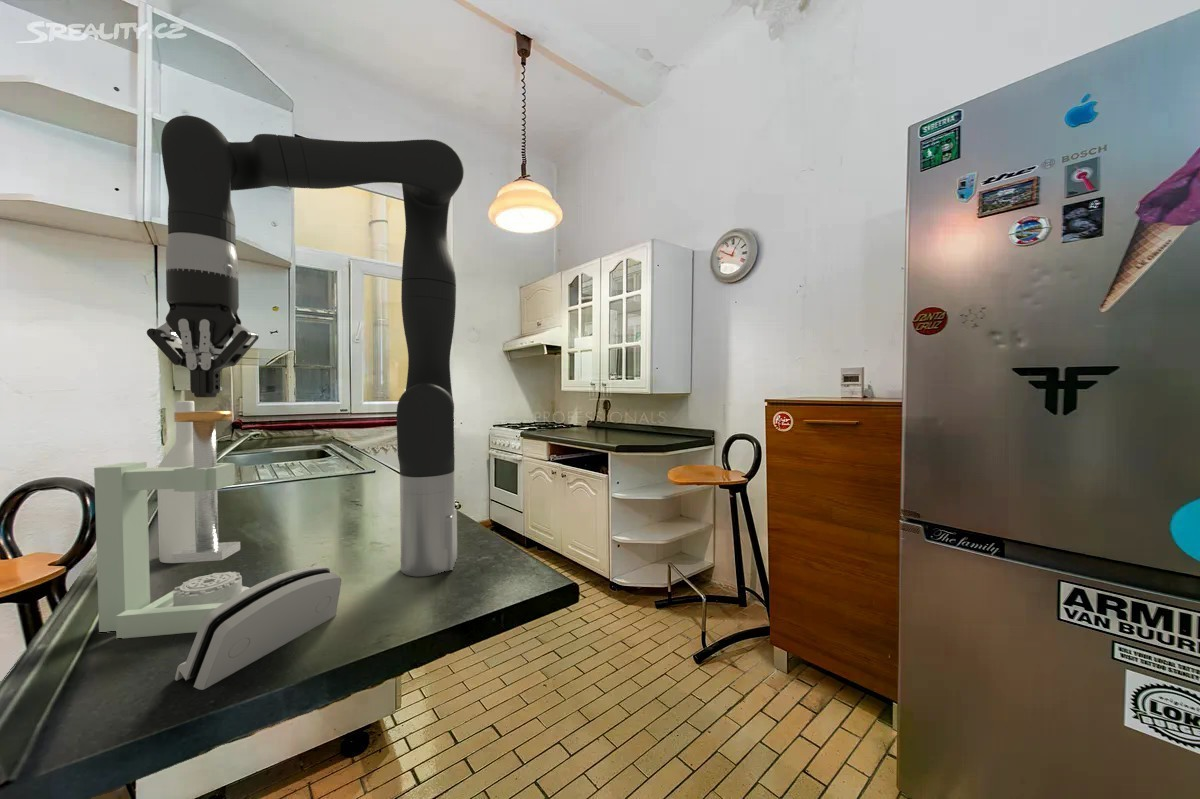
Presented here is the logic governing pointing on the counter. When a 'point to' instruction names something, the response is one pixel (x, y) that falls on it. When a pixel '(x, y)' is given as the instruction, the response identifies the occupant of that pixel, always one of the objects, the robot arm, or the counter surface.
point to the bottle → (177, 494)
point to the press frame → (141, 547)
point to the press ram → (205, 500)
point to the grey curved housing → (260, 622)
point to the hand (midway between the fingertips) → (205, 397)
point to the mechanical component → (208, 589)
